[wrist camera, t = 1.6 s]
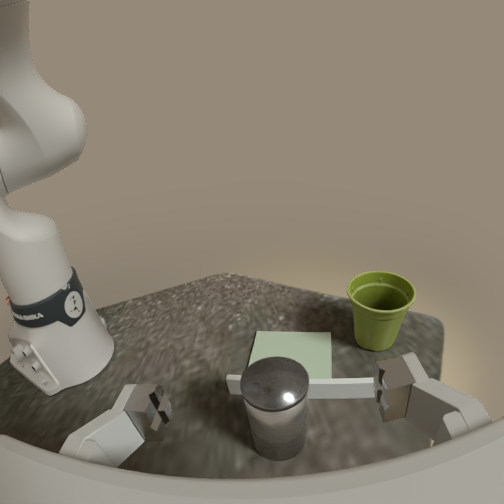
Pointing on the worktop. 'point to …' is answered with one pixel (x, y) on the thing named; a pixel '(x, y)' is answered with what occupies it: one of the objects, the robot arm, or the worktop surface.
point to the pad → (296, 350)
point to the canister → (276, 406)
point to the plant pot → (379, 307)
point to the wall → (323, 387)
